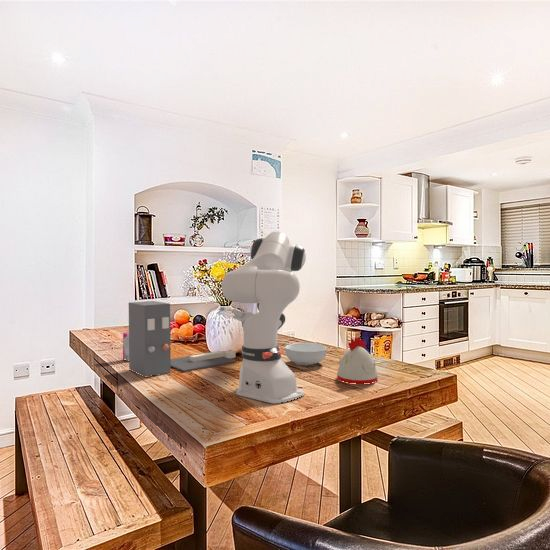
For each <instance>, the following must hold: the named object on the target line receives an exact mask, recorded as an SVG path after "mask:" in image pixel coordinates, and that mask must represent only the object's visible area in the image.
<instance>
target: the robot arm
mask: <svg viewBox="0 0 550 550" xmlns="http://www.w3.org/2000/svg"><path fill="white" fill-rule="evenodd" d="M249 251H250V259H251V260H250V261H248V262H246V263H245V264H243V265H242V266H240V267H239V268H236V269H234V270H231V271H227V272H226V273H225V275H224V276H223V278H222V281H221V291H222V294H223V296H224V298H225V299H226V300H228V301H232V302H234V303H239V304H256V309H257V310H258V312H256V313H253V312H251V311H249V312H248V311H241V310H239V309H237V308H233V309H232V310H233V311H232V313H234V314H235V316H233V318H234V319H237V320H239V321H241V322H242V327H243V330H242V336H243V337H242V340H243V341H242V343H243V344H242V346H241V357H242V362H241V365H240V369H239V378H238V388H237V389H236V390H235V391H236V392H235V394H236V395H237V396H240V397H245V398H249V399H252V400H257V401H260V402H264V403H267V404H268V403H269V404H282V403H281V402H283V403H288V402H291V400H292V401H295V400H298V399H300V398H302V397H303V396H304V395H305V391H304V390H303V389H301V388H299V387H298V386H297V377H296V375H295V373H294V372H293V370H291V368H290V367H289V366H288V365H287V364H286V363H285V361H284V360H283V359H282V355H283V354H284V350H283V349H282V350H280V348H279V345H278V331H279V330H280V328H282V327H283V326H284V324H285V322H286V316H285V313H284V311H285V309H286V308H287V307H288V306H289V305H290V304H291V303H293V302H294V301H295V300H296V299H297V297H298V296H299V294H300V290H301V289H300V288H301V285H300V284H301V283H300V281H299V278H298V277H297V275H296V274H295V273H294V272H298V271H300V270H301V269H303V266H304V265H305V263H306V259H307V255H306V250H305V248H304V247H303V246H302V245H299V244H293V243H290V239H289V238H288V236H287V235H286V234H285V233H283V232H281V231H276V230H275V231H272V232H270V233H269V234H268V235H266V236H265V238H264V237H263V238H257V239H255V240H254V241H253V243H252V245H251V247H250V250H249ZM224 309H226V307H224V306H220V308H219V311H220V310H221V311H222V310H224ZM221 311H220V312H221ZM301 396H302V397H301ZM299 397H300V398H299ZM297 398H298V399H297ZM294 399H295V400H294ZM287 401H288V402H287Z"/></svg>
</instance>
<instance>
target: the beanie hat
mask: <svg viewBox="0 0 550 550" xmlns="http://www.w3.org/2000/svg"><path fill="white" fill-rule="evenodd" d="M366 345H367V343H366V342H365V341H364V339H361V337H360V336H357V337H354V338H350V342H348V347H349V349H347V350H346V351H345V352H344V354H343V355H342V357H340V358H339V365H338V369H337V375H336V376H337V378H338V379H339V380H341V381H344V382H348V383H356V384H364V383H372V382H375V381H377V382H378V373H377V368H376V362H374V361H375V360H374V359H373V356H372V355H371V354H370V352H369V351H368V350H366V349H365V348H366ZM338 379H337V380H338ZM339 380H338V381H339ZM341 381H340V382H341Z"/></svg>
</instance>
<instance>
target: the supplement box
mask: <svg viewBox="0 0 550 550" xmlns="http://www.w3.org/2000/svg"><path fill="white" fill-rule="evenodd" d="M123 359H126V360H129V332H124V333H123V334H122V360H123Z"/></svg>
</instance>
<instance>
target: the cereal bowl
mask: <svg viewBox="0 0 550 550" xmlns="http://www.w3.org/2000/svg"><path fill="white" fill-rule="evenodd" d="M284 350H285V356H286V357H287V359H288V360H289V361H291V362H292V363H295V364H296V365H298V366H301V365H305V366H304V367H308V366H307V365H312V366H314V364H315V365H316V364H318V363H321V362H322V361H324V360H325V358H326V357H327V354H328V353H327V350H328V349H327V346H326V345H324V344H321V343H315V342H296V343H289V344H287V345H285V349H284Z"/></svg>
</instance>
